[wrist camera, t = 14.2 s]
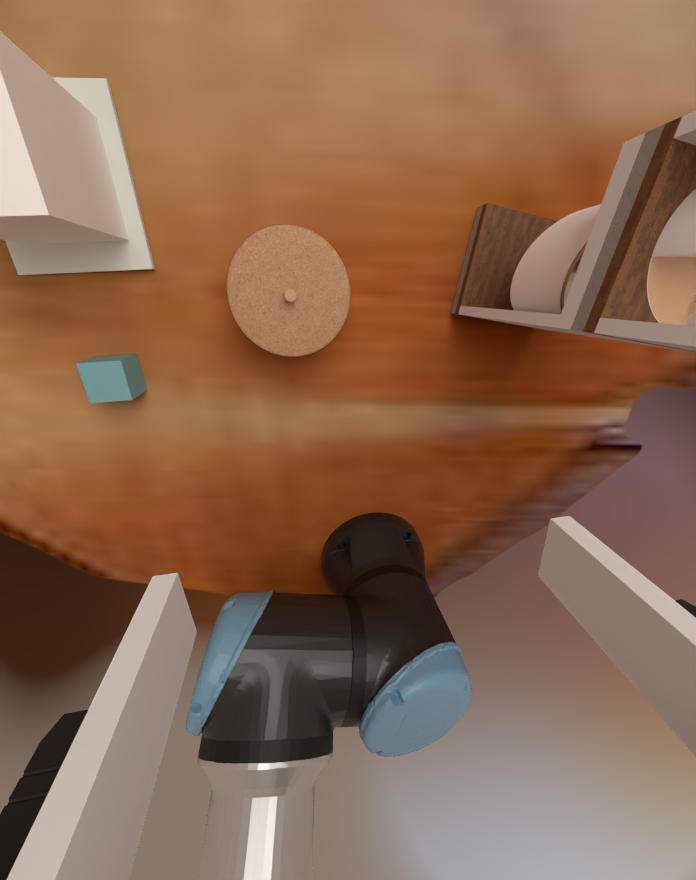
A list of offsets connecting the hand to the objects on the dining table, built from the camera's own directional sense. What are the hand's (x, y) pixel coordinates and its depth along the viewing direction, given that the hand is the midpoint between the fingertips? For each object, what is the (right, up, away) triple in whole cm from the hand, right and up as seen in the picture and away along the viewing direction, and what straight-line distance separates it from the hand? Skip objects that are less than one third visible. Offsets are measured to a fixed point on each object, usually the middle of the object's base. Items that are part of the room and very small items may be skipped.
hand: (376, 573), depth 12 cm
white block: (-26, +27, +18) cm, 42 cm away
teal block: (-26, +12, +26) cm, 38 cm away
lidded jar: (-7, +20, +25) cm, 33 cm away
